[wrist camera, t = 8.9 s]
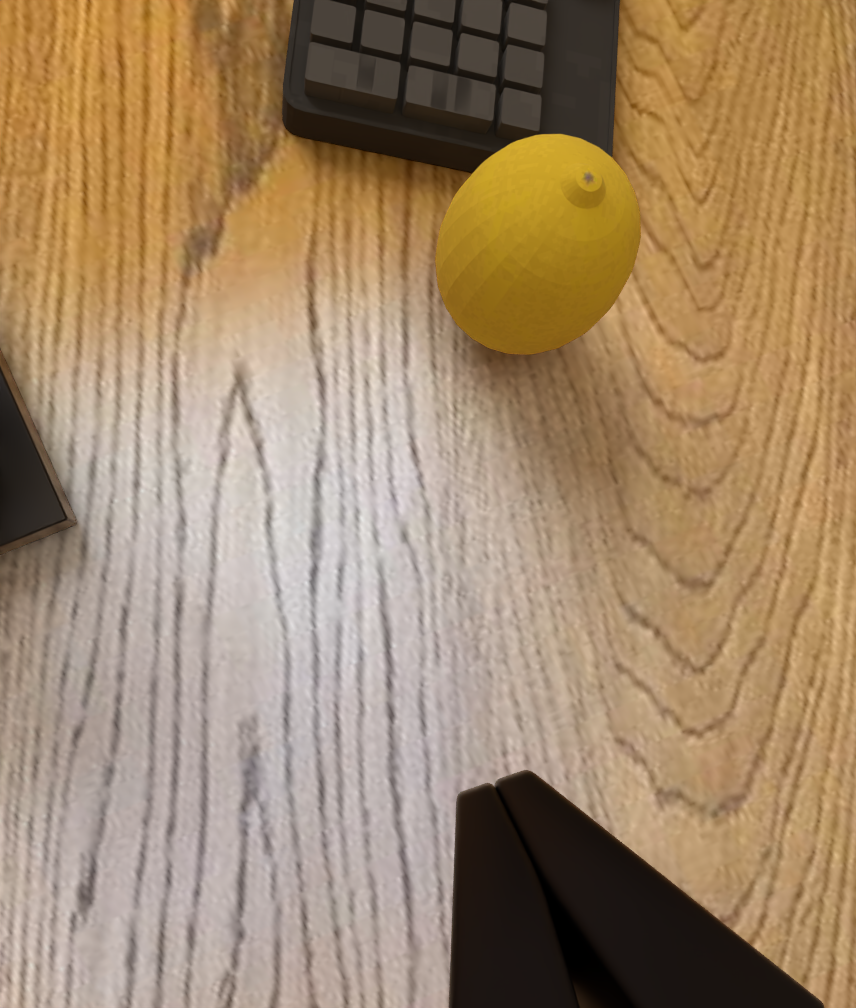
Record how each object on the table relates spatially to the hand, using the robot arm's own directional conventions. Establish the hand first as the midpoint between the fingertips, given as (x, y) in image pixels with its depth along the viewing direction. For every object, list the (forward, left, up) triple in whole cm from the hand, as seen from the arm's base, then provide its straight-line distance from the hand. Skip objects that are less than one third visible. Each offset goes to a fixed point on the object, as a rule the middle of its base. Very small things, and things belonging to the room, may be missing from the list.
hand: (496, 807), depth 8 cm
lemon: (+6, -12, -15) cm, 20 cm away
